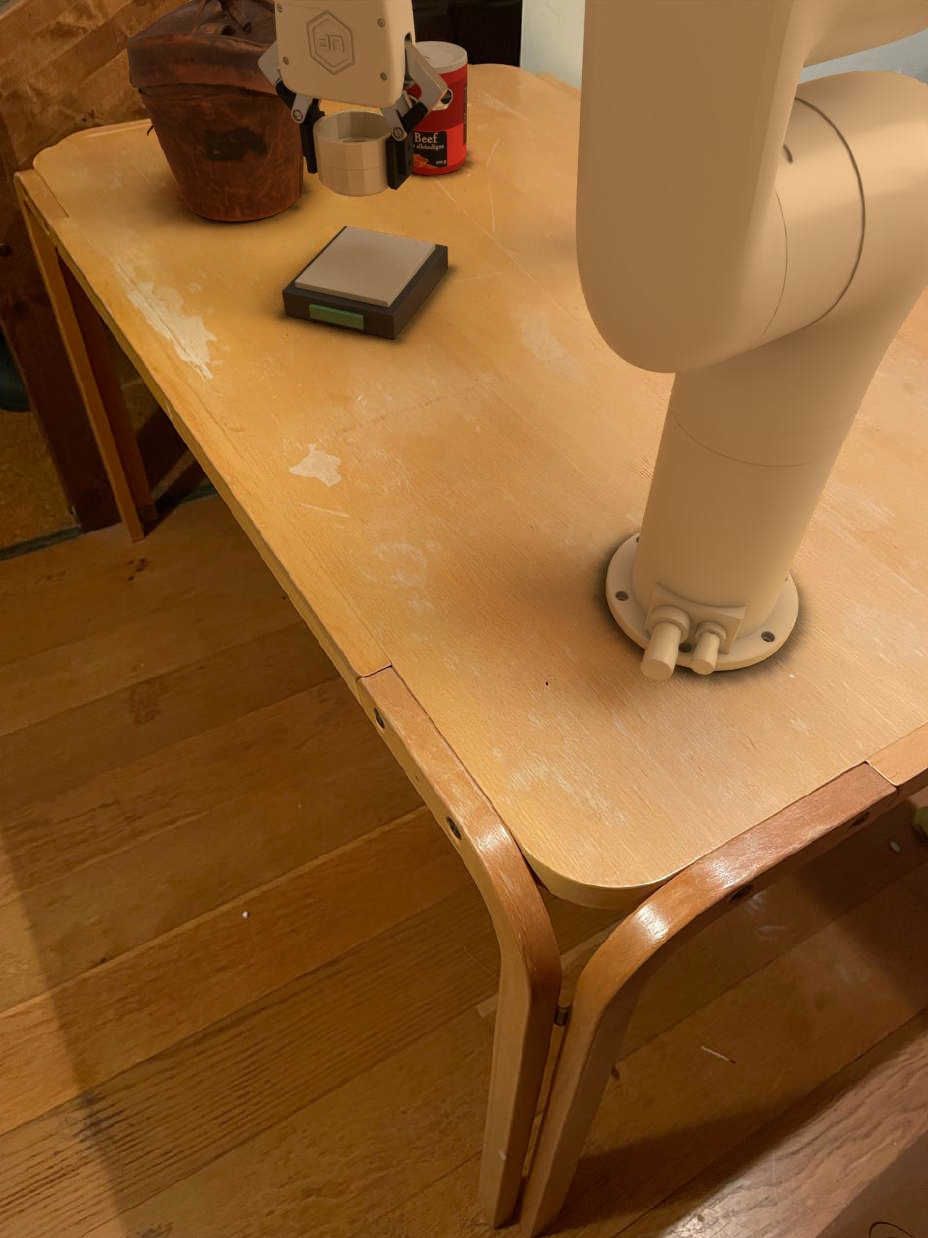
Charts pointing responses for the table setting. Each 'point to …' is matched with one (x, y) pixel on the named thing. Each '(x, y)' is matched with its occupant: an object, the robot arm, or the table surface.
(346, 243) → the scale
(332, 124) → the small cup
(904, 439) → the table surface
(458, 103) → the canned food
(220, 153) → the brown flower pot
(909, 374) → the table surface
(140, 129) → the table surface
